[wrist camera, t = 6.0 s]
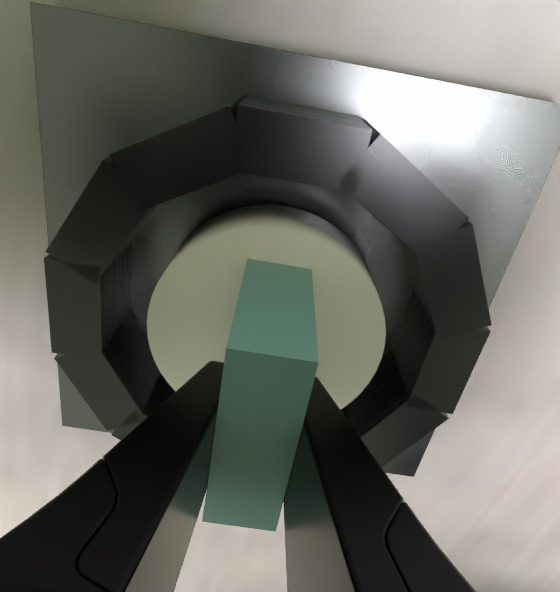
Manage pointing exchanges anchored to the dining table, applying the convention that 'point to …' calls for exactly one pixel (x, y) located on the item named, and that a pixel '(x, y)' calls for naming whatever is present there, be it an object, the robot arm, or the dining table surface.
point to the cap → (265, 341)
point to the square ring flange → (273, 202)
